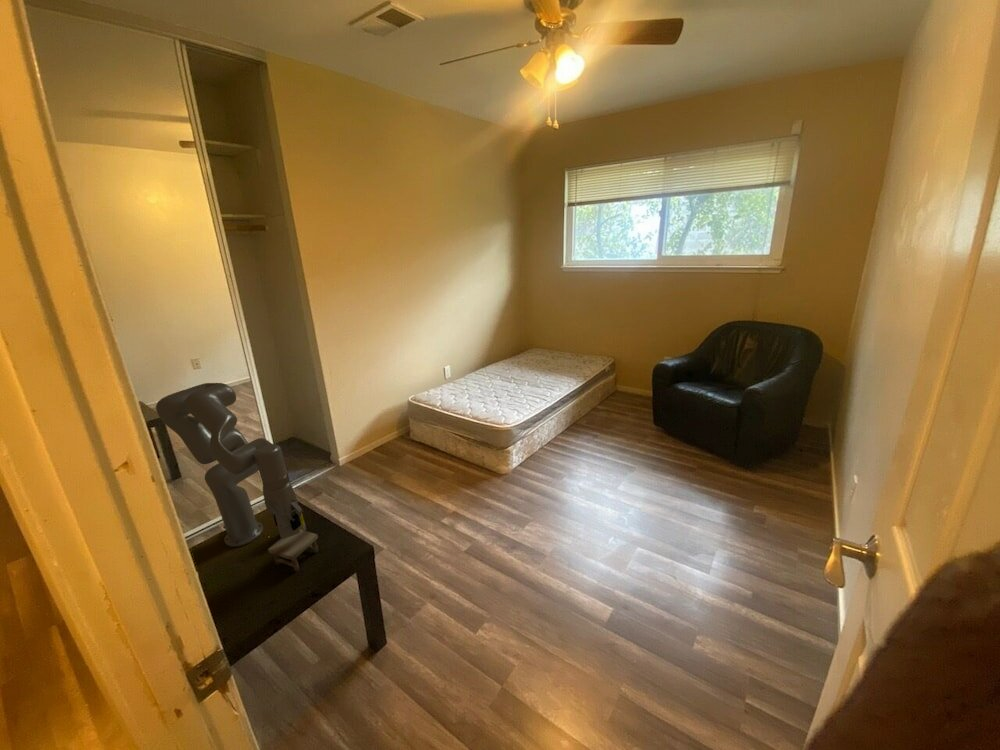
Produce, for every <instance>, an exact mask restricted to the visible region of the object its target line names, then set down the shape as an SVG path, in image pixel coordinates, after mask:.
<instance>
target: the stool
mask: <svg viewBox="0 0 1000 750" xmlns="http://www.w3.org/2000/svg"><path fill="white" fill-rule="evenodd" d="M318 538H319V536H318V534H317V533H313V532H311V531H307V530H305V531H304V530H300V533H298V534H296V535H293V536H291V537H288V538H285V539H281V538H280V539H278V540H277V541H276V542H275V543H274V544H272V545H271V546H270V547H268V549H267V551H268V553H269V554H272V557H273V560H274V563H275V565H276V566H280V565H281V564H283V565H287V566H290V567H292V568H293V570H294V572H299V571H300V565H299V562H298V559H297V557H299V556H300V555H301V554H302V553H303V552H304V551H305V550H307V549H308V548H310V549H312V551H313V553H314V554H317V553H319V545H318V543H317V540H318ZM280 557H281V558H280ZM283 558H284V559H283ZM287 559H288V560H290V561H288V560H287Z"/></svg>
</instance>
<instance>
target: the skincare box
mask: <svg viewBox="0 0 1000 750" xmlns="http://www.w3.org/2000/svg"><path fill="white" fill-rule="evenodd" d="M292 509H293V508H292ZM274 513H275V517H276V521H277V525H278V526H277V529H278V531H279V535H280V539H285V538H288V537H291V536H293V535H296V534H298V533H300V529H299V527H298V528H297V529H296V530H295V531H293V530H292V527H291V523H290V521H291V519H290V518H289V516H283V515H279V514H277V510H276V509H274ZM291 514H292V515H293V516H294V515H295V513H294V512H292V513H291Z"/></svg>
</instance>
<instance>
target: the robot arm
mask: <svg viewBox="0 0 1000 750" xmlns="http://www.w3.org/2000/svg"><path fill="white" fill-rule="evenodd" d="M236 401H237V393H236V392H235V391H234V389H233V388H232V387H231V386H230V385H228V384H226V383H223V382H206V383H205V382H204V383H202V384H197V385H195V386H192V387H189V388H186V389H183V390H179V391H176V392H174V393H171V394H168V395H166V396H164V397H162V398H161V399H159V400H158V402H157V403H156V405H155V408H156V409H155V410H156V413H157V415H158V418H159V419H160V420H161V421H162V422H163V423H164V424H165V426H167V427H168V428H169V429H171V430H172V431H173V432H175V433H176V434H177V435H178V436H179V437H180V439H181V441H182V442H183V443H184V445H185V446H186V447H187V449H188V450H189V451H190V453H191V455H192V456H193V458H195V460H196V461H197V462H198V463H199V464H201V465H209V464H211V463H212V464H213V463H214V462H216V461H217V462H218V463H217V464H215V465H213V466H212V467H210V468H209V469H208V470H206V472H205V474H204V481H205V483H206V485H207V487H208V488H209V490H210V491H211V493H212V495H213V497H214V500H215V502H216V504H217V507H218V510H219V513H220V516H221V519H222V521H223V526H222V528H223V529H224V530H226V533H227V534H226V535H225V536H224V543H225V545H226V546H228V547H231V548H232V547H233V548H235V547H236V548H237V547H240V546H245V545H247V544H249V543H252V542H253V541H255V540H256V539H257V538H258V537H259V536H260V535H261V534H262V533H263V531H264V527H263V526H264V525H263V524H262V523H261V522H260V521H257V520H256V518H255V513H254V511H253V508H252V505H251V501H250V497H249V495H248V492H247V490H246V489H245V488H243V487H241V486H239V485H238V484H240V483H241V482H243V481H244V480H246V479H248V478H249V477H251V476H253V475H254V474H256V473H259V477H260V479H261V483H262V495H263V500H264V504H265V505H264V506H265V509H266V510H267V511H268V512H269V513H271V515H272V517H273V519H274V523H275V526H276V527H278V525H277V521H276V517H275V513H274V509H276V510H277V514H279V515H283V516H289V518H290V519H291V521H290V523H291V527H292V530H293V531H295V530H296V529H297V528H298V527H299V526H301V522H300V518H299V516H300V515H301V513H302V514H303V513H304V512H303V511H304V510H303V509H302V508H301V506H300V505H299V501H298V499H297V495H296V492H295V490H294V488H293V486H292V483H291V482H290V480H291V479H290V476H289V473H288V469H287V465H286V462H285V458H284V455H283V451H282V447H281V446H280V445H278V444H276V443H272V442H270V441H269V440H268V439H267V438H264V437H260V438H256V439H254V440H252V441H250V442H248V441H247V439H246V438H245V436H244V435H243V433H242V432H241V431H240V430H238V429H237V428H235V427H236V425H237V423H238V418H237V415H235V414H234V413H233V412H232V411H231V410H230V409H229V408H228V407H229V406H231V405H232V406H233V405H234V403H236ZM190 414H191V415H192V416H191V415H190ZM299 506H300V507H299ZM292 508H293V509H292ZM292 512H294V513H295V515H294V516H293V515H292V514H291V513H292Z"/></svg>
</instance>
